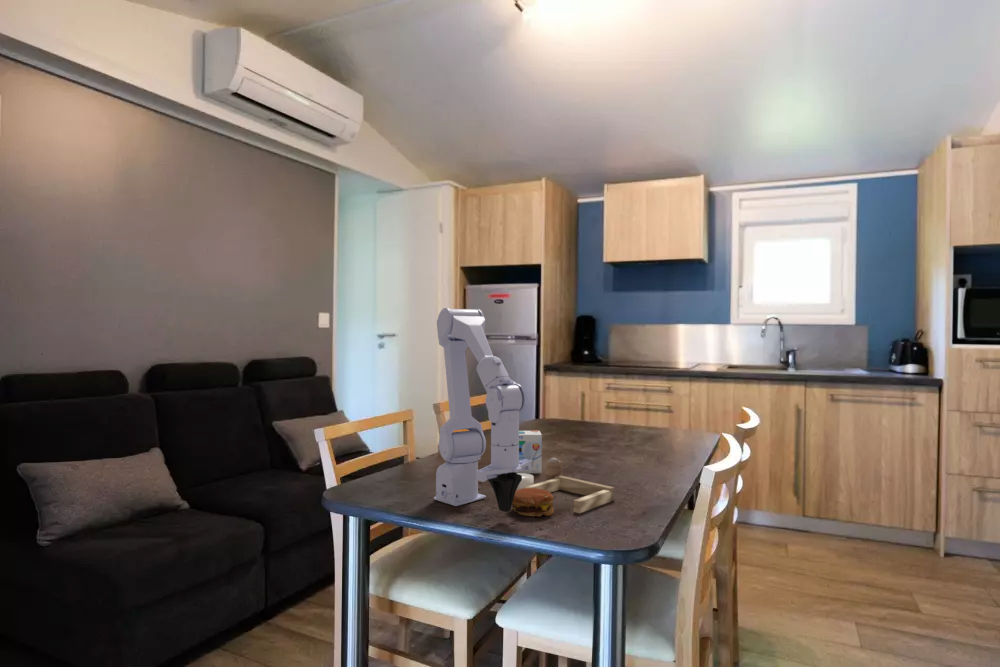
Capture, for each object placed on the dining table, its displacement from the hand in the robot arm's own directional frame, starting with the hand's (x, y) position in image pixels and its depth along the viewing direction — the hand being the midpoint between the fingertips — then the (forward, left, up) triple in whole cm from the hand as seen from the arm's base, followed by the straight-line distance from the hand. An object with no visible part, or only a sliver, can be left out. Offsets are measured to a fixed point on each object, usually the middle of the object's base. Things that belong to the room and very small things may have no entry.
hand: (504, 510), depth 115 cm
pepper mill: (+29, +10, -2) cm, 30 cm away
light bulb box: (+35, +26, -2) cm, 43 cm away
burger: (+9, 0, -3) cm, 9 cm away
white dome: (+20, +13, -2) cm, 24 cm away
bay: (+21, 0, -2) cm, 22 cm away
